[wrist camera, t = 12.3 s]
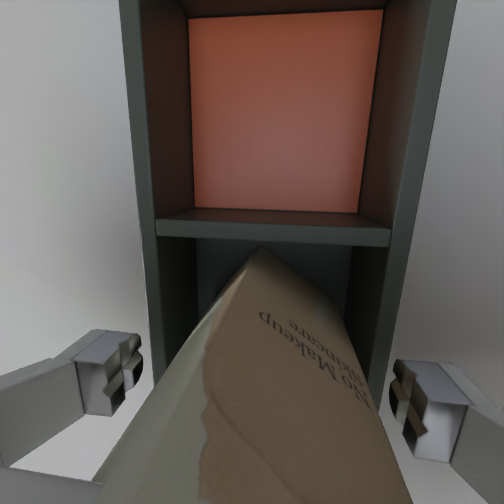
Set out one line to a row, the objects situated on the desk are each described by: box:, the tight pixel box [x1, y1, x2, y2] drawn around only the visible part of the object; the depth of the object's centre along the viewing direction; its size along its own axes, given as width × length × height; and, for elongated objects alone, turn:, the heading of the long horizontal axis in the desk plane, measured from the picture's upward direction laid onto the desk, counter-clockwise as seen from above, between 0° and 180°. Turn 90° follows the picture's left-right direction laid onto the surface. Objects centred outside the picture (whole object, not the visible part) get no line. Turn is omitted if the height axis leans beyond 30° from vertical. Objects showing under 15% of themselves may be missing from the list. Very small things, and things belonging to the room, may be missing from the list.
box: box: [91, 245, 413, 504], centre depth 8 cm, size 5×4×11 cm
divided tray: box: [119, 0, 457, 413], centre depth 10 cm, size 9×17×4 cm, turn 179°
